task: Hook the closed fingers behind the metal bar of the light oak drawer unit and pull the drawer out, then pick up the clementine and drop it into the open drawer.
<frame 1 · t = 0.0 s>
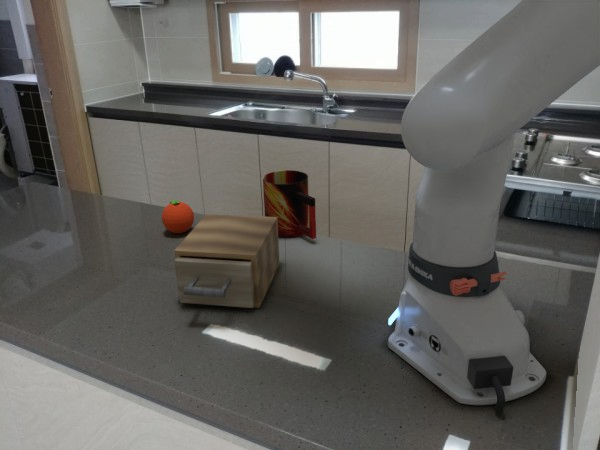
cabinet: (233, 281, 97), on the worktop
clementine: (179, 231, 119), on the worktop
drawer: (223, 270, 91), point 5 cm above the worktop, slide at 0.5 cm
mug: (295, 231, 118), on the worktop
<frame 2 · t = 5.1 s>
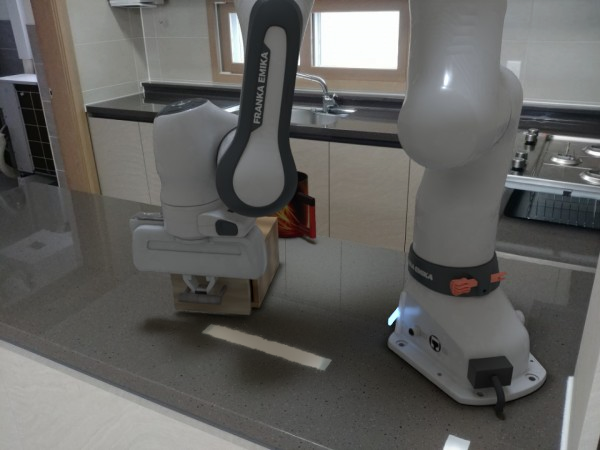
hand: (203, 297, 83), 5 cm above the worktop, tool pointing down, fingers closed
drawer: (219, 275, 89), point 5 cm above the worktop, slide at 2.6 cm, touching gripper
everything else where it was.
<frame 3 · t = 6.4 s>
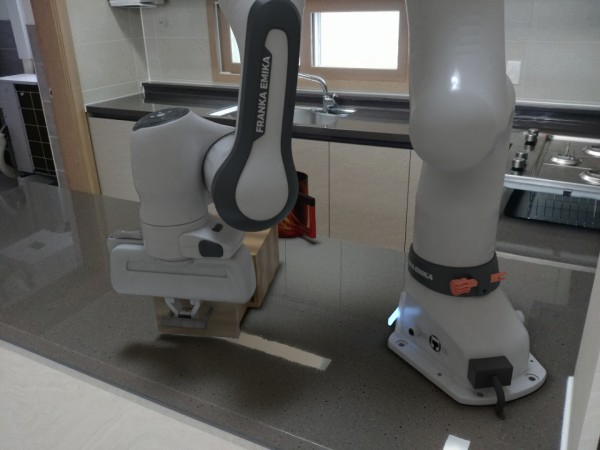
hand: (188, 321, 77), 5 cm above the worktop, tool pointing down, fingers closed, pressing on drawer
drawer: (206, 296, 84), point 5 cm above the worktop, slide at 9.1 cm, touching gripper
everything else where it was.
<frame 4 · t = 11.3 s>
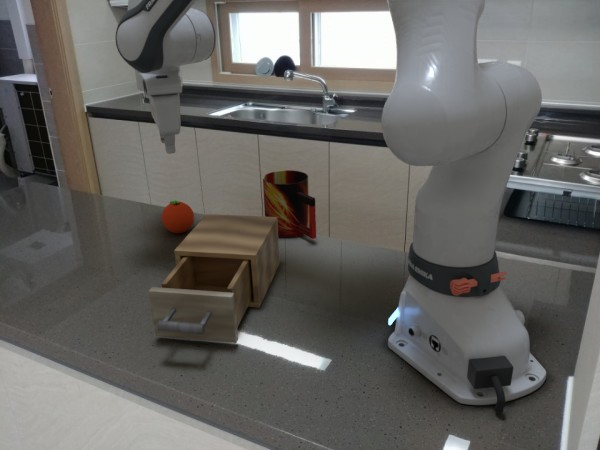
hand: (168, 147, 111), 19 cm above the worktop, tool pointing down, fingers open, 8 cm apart
drawer: (204, 299, 83), point 5 cm above the worktop, slide at 10.1 cm
everything else where it was.
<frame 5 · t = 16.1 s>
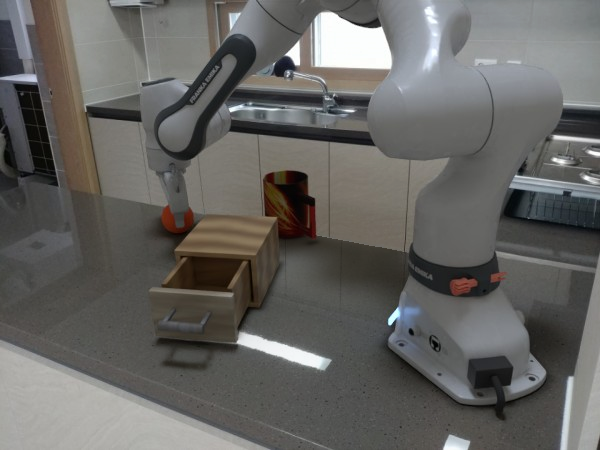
hand: (176, 218, 118), 3 cm above the worktop, tool pointing down, fingers closed on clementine, 8 cm apart
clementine: (178, 231, 119), on the worktop, touching gripper
everything else where it was.
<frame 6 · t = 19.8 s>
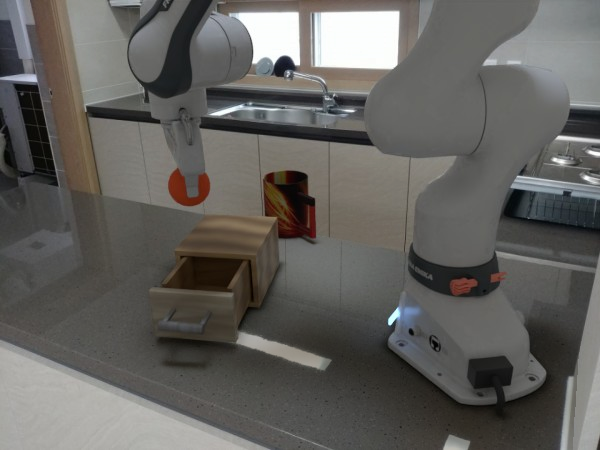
hand: (188, 187, 90), 18 cm above the worktop, tool pointing down, fingers closed on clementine, 8 cm apart
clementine: (190, 205, 91), point 15 cm above the worktop, touching gripper
everything else where it was.
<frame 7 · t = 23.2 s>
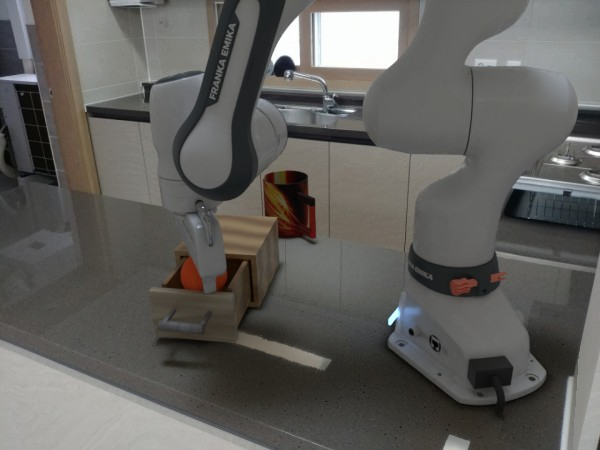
hand: (202, 276, 81), 9 cm above the worktop, tool pointing down, fingers closed on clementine, 8 cm apart
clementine: (204, 294, 82), point 6 cm above the worktop, touching drawer, gripper
drawer: (204, 299, 83), point 5 cm above the worktop, slide at 10.1 cm, touching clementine, gripper
everything else where it was.
when the fingers open (9 cm above the worktop, at t = 23.6 s): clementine drops 4 cm, resting on drawer.
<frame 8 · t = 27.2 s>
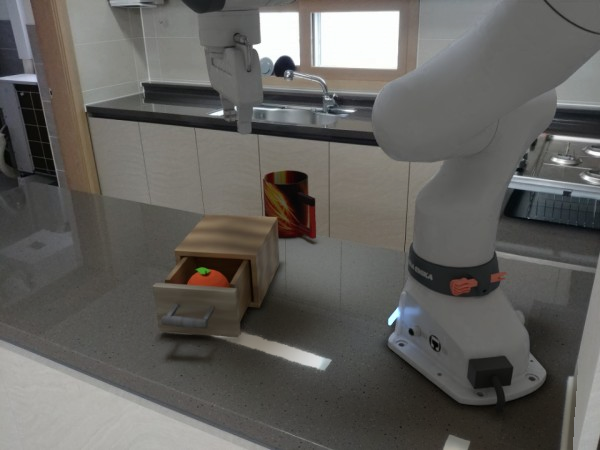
hand: (237, 126, 83), 29 cm above the worktop, tool pointing down, fingers open, 8 cm apart
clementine: (208, 310, 85), point 2 cm above the worktop, touching drawer
drawer: (206, 295, 84), point 5 cm above the worktop, slide at 8.8 cm, touching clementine
everything else where it was.
at the end: drawer slide at 8.8 cm; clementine inside the target area in the drawer (0.1 cm from its centre), point 1.9 cm above the cabinet's base; the gripper is holding nothing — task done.
